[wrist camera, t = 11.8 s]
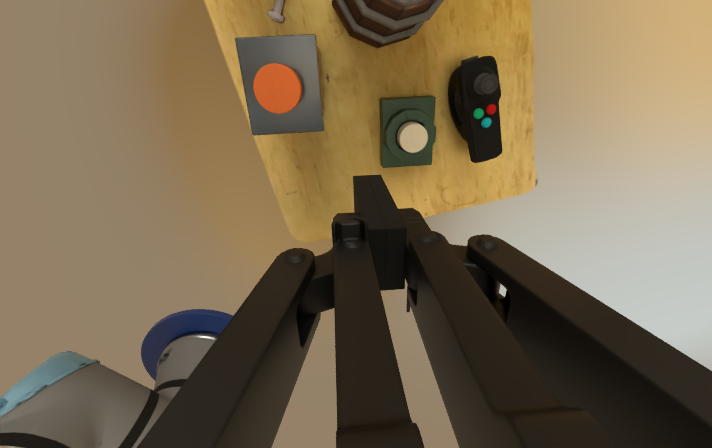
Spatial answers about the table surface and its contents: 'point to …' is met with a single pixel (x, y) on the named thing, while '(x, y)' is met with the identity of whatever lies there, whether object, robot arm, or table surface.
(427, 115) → the switch far
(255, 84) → the button near
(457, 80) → the controller
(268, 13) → the screw
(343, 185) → the table surface
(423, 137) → the button far
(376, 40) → the mug
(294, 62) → the switch near
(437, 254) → the robot arm
